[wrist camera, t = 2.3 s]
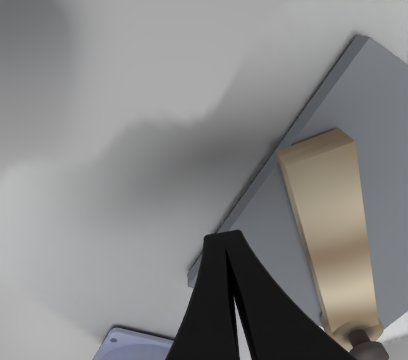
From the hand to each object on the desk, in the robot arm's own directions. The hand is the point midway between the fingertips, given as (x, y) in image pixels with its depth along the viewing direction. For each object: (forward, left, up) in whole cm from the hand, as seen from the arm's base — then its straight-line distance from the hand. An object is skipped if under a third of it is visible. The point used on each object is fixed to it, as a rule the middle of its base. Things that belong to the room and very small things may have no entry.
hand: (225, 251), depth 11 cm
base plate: (+1, -10, -5) cm, 12 cm away
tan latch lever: (-1, -9, -4) cm, 10 cm away
